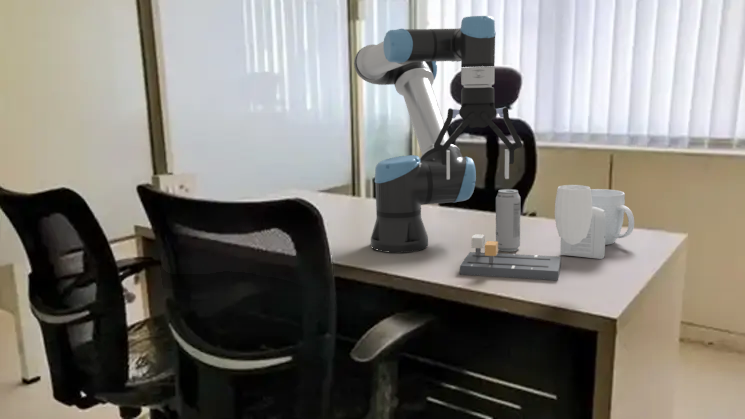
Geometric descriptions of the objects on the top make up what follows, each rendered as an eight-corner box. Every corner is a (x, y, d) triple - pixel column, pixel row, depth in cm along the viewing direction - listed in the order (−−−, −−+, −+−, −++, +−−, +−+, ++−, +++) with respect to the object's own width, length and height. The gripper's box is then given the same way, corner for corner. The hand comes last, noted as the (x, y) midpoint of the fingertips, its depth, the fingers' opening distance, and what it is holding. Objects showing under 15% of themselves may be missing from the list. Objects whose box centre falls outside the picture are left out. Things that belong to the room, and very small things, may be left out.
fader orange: (484, 263, 144) (484, 244, 143) (487, 259, 147) (487, 241, 147) (495, 264, 143) (495, 245, 142) (498, 260, 147) (498, 241, 146)
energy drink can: (499, 245, 169) (500, 188, 166) (522, 247, 166) (523, 189, 163) (492, 250, 164) (492, 192, 161) (516, 253, 161) (516, 193, 158)
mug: (645, 245, 164) (647, 194, 161) (617, 252, 158) (620, 199, 156) (596, 235, 176) (597, 187, 174) (568, 241, 170) (570, 192, 168)
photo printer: (606, 255, 156) (607, 205, 153) (603, 260, 152) (604, 208, 150) (562, 251, 161) (563, 202, 158) (558, 256, 157) (559, 205, 155)
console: (460, 274, 145) (459, 265, 145) (469, 259, 156) (469, 251, 156) (557, 280, 138) (558, 270, 138) (560, 264, 150) (561, 255, 149)
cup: (563, 294, 130) (565, 191, 126) (547, 283, 137) (548, 185, 133) (596, 290, 131) (600, 188, 127) (579, 280, 138) (581, 183, 134)
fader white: (471, 255, 151) (471, 237, 150) (474, 251, 154) (474, 234, 153) (482, 256, 150) (481, 238, 149) (484, 252, 153) (484, 234, 153)
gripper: (422, 88, 147) (423, 181, 151) (535, 85, 144) (533, 180, 148) (423, 87, 154) (424, 176, 158) (531, 84, 151) (529, 175, 156)
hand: (477, 178), depth 153 cm, fingers open, 13 cm apart
